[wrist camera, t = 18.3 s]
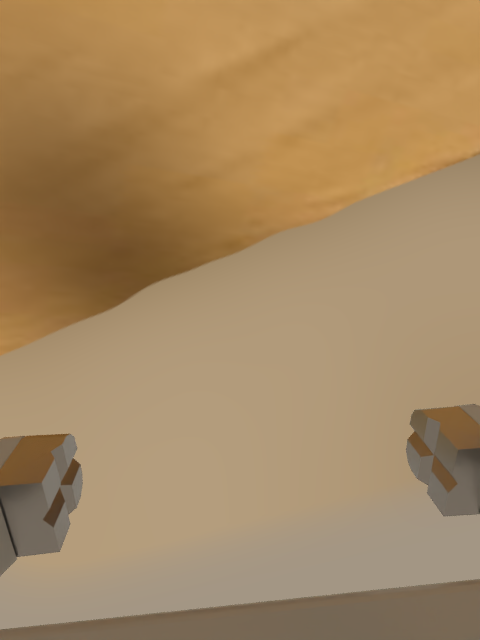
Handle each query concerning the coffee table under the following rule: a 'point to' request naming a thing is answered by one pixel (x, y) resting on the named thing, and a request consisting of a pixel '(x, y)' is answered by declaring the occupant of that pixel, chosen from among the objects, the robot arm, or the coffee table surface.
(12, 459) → the robot arm
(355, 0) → the coffee table surface
